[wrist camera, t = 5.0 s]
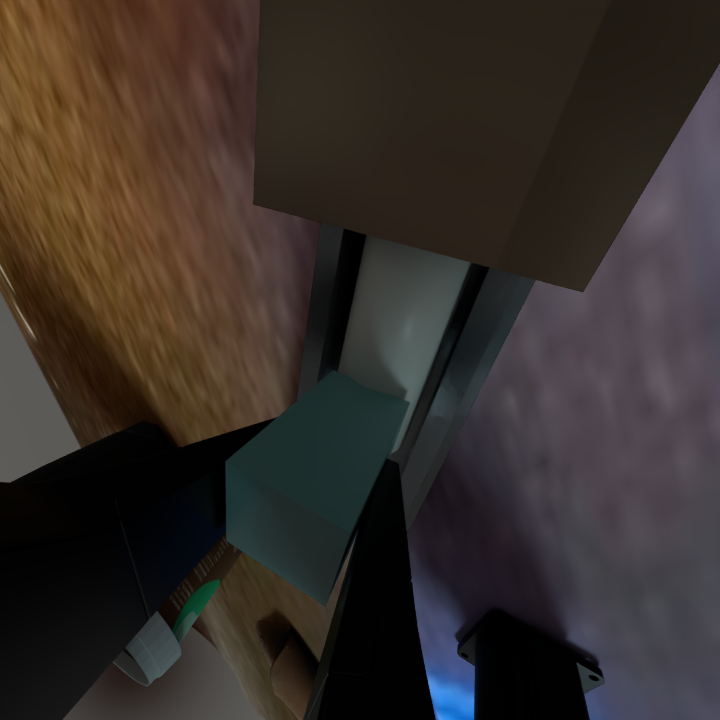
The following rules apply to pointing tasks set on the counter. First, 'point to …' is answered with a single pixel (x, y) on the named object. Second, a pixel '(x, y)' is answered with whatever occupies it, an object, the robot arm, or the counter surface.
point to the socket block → (477, 120)
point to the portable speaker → (102, 454)
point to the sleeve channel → (451, 371)
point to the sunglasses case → (287, 666)
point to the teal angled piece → (344, 421)
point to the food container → (176, 617)
